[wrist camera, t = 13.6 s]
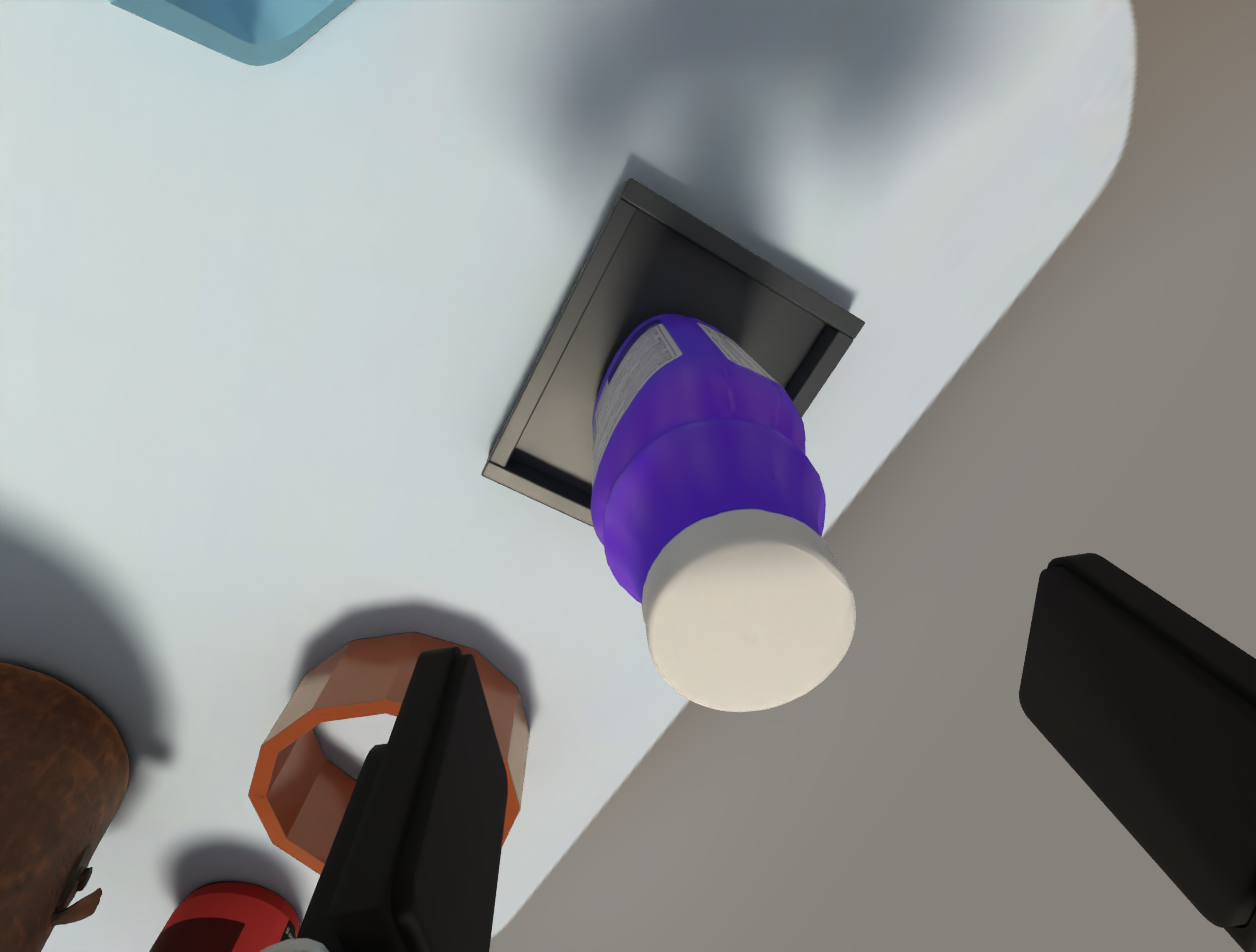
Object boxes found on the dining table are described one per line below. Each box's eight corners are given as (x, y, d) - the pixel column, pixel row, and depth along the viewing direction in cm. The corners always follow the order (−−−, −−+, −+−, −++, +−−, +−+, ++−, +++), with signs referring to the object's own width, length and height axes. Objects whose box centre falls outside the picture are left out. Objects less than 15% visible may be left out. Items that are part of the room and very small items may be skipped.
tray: (689, 554, 32) (695, 574, 30) (487, 459, 29) (480, 475, 27) (847, 315, 27) (866, 322, 25) (626, 179, 25) (629, 176, 23)
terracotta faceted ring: (337, 818, 37) (302, 902, 33) (264, 651, 32) (210, 723, 28) (543, 790, 37) (536, 870, 33) (501, 619, 32) (486, 686, 28)
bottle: (682, 483, 29) (789, 800, 13) (572, 438, 28) (545, 725, 12) (756, 344, 27) (995, 525, 11) (639, 288, 26) (717, 399, 10)
